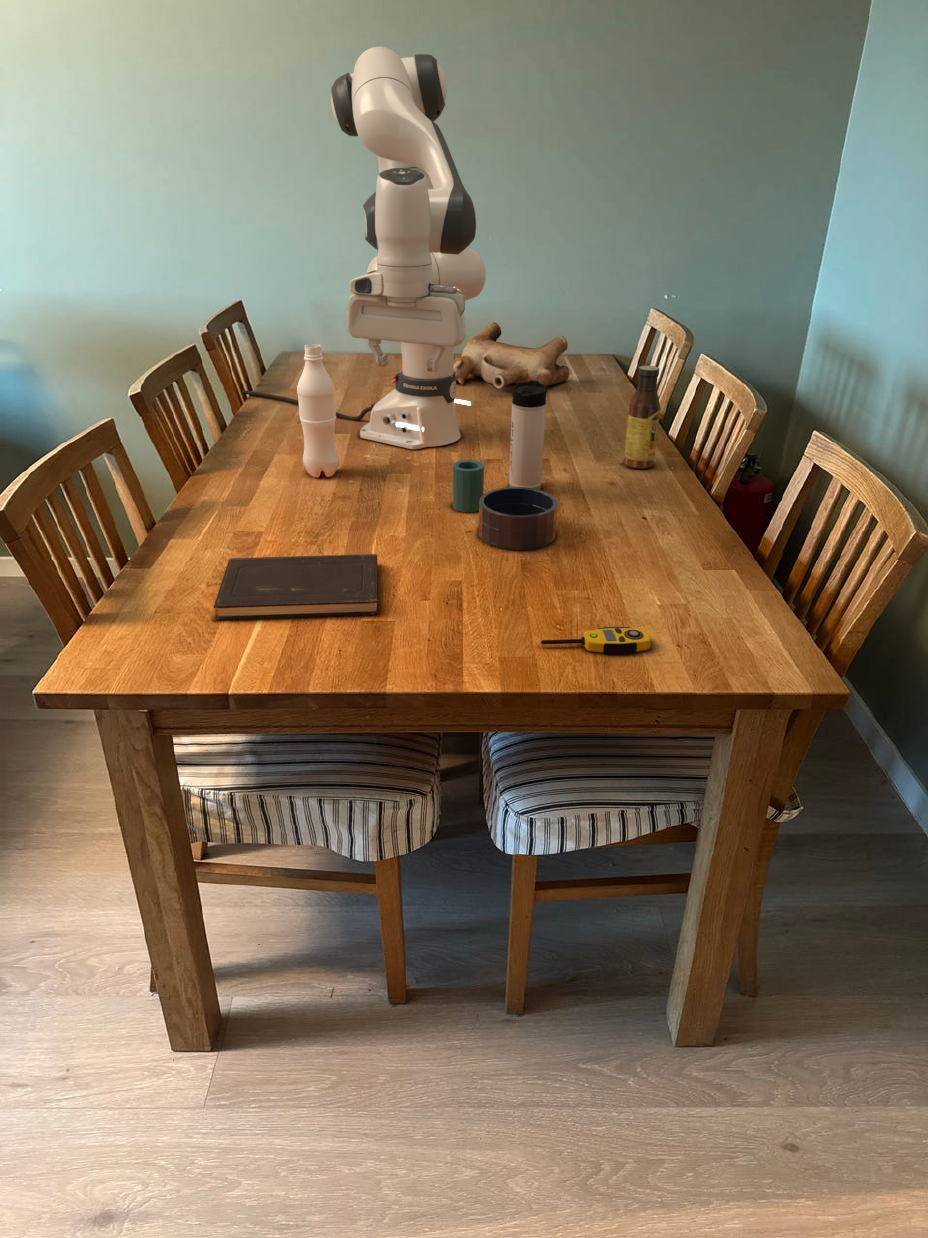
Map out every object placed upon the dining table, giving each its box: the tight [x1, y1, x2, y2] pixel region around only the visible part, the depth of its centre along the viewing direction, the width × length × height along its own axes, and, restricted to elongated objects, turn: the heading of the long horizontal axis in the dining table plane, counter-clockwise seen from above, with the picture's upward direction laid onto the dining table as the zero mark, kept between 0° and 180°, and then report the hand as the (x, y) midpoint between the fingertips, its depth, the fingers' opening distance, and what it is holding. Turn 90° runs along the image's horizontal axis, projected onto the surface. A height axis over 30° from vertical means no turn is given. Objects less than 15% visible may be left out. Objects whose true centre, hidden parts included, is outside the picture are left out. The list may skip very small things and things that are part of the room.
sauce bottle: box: [623, 365, 661, 470], centre depth 176 cm, size 7×6×20 cm
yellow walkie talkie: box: [540, 626, 652, 655], centre depth 119 cm, size 5×2×15 cm
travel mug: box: [508, 380, 548, 490], centre depth 165 cm, size 6×7×20 cm
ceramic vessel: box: [454, 321, 570, 390], centre depth 232 cm, size 13×31×25 cm
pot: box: [478, 486, 559, 551], centre depth 150 cm, size 13×13×6 cm
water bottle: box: [296, 343, 340, 479], centre depth 169 cm, size 7×7×25 cm
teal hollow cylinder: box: [452, 459, 485, 513], centre depth 159 cm, size 6×6×8 cm
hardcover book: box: [213, 553, 379, 621], centre depth 132 cm, size 16×23×2 cm
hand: (407, 368), depth 148 cm, fingers open, 8 cm apart
